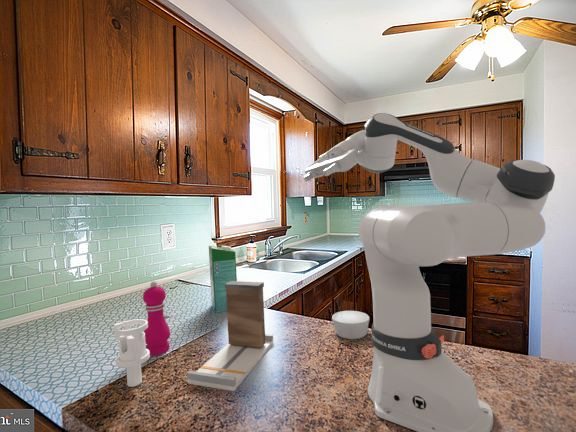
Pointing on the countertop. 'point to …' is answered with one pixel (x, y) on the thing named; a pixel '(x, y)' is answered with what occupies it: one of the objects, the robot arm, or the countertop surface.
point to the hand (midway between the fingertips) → (315, 176)
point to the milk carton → (221, 274)
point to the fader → (245, 313)
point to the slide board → (229, 366)
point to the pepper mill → (156, 320)
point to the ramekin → (351, 324)
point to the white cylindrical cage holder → (132, 349)
